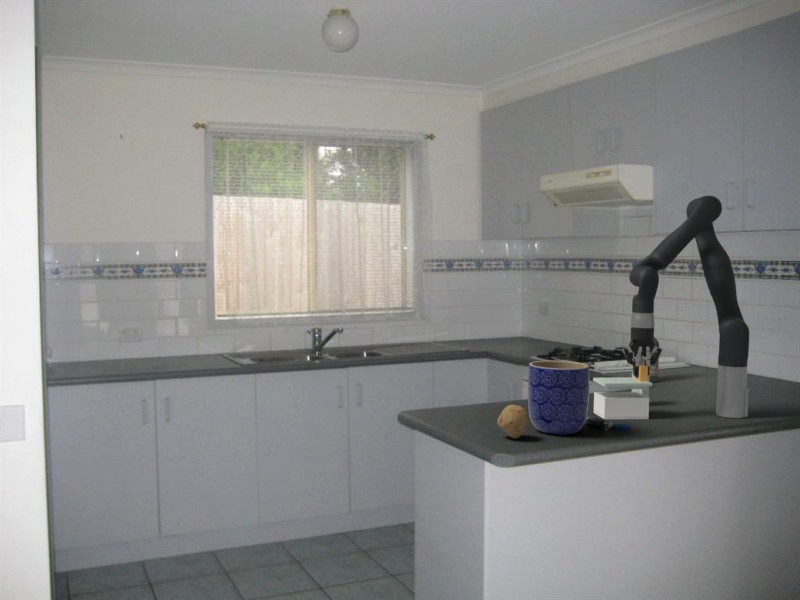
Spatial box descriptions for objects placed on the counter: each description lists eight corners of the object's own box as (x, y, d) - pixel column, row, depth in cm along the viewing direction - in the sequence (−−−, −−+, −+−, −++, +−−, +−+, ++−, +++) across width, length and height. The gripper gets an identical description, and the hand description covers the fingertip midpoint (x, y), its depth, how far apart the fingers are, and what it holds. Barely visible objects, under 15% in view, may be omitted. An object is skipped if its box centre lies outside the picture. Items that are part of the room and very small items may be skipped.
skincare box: (637, 402, 309) (638, 370, 308) (648, 404, 306) (650, 371, 305) (630, 405, 304) (631, 372, 303) (641, 406, 301) (643, 373, 301)
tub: (636, 412, 291) (636, 392, 291) (648, 419, 280) (649, 398, 280) (593, 412, 290) (594, 392, 289) (604, 419, 279) (605, 398, 278)
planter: (554, 422, 273) (556, 358, 272) (600, 432, 259) (602, 365, 258) (514, 429, 262) (516, 363, 260) (560, 440, 248) (562, 370, 246)
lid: (638, 383, 291) (639, 362, 290) (652, 389, 279) (652, 368, 278) (593, 384, 289) (593, 363, 289) (604, 390, 277) (605, 368, 277)
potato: (493, 439, 247) (494, 406, 247) (501, 433, 256) (502, 400, 255) (524, 443, 244) (525, 408, 244) (531, 436, 253) (531, 403, 252)
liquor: (660, 381, 357) (663, 310, 355) (646, 383, 352) (649, 311, 349) (643, 378, 364) (645, 309, 362) (629, 380, 359) (631, 309, 357)
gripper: (658, 324, 288) (656, 375, 289) (618, 324, 286) (616, 375, 288) (667, 327, 280) (665, 379, 282) (626, 327, 279) (624, 379, 280)
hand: (641, 377), depth 285 cm, fingers closed on lid, 2 cm apart
